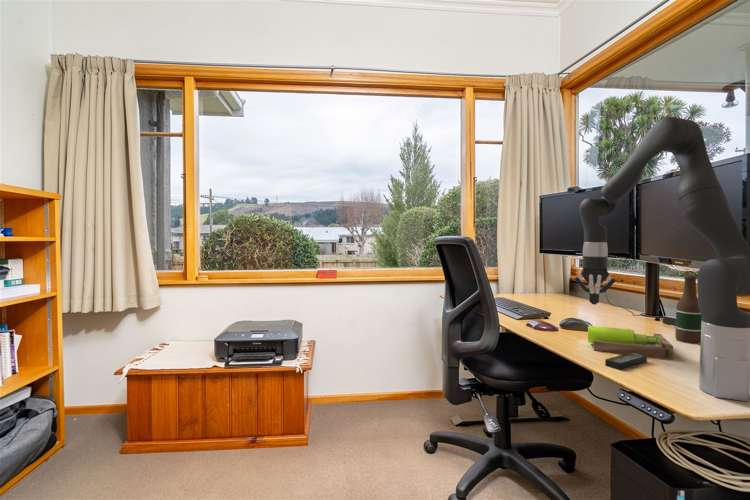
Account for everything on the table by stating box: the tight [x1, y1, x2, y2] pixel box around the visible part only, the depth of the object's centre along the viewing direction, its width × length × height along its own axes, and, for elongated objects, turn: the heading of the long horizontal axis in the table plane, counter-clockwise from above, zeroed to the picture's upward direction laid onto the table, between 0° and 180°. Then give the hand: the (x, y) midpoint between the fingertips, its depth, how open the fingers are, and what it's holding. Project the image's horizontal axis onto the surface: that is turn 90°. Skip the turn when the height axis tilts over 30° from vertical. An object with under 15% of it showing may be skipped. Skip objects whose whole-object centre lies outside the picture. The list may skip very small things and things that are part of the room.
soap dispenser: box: [587, 325, 659, 345], centre depth 129 cm, size 6×7×20 cm
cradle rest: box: [592, 333, 674, 360], centre depth 130 cm, size 16×22×4 cm
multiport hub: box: [605, 352, 648, 371], centre depth 115 cm, size 4×14×2 cm, turn 118°
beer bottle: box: [674, 274, 702, 345], centre depth 138 cm, size 8×8×24 cm
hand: (594, 304), depth 134 cm, fingers closed
